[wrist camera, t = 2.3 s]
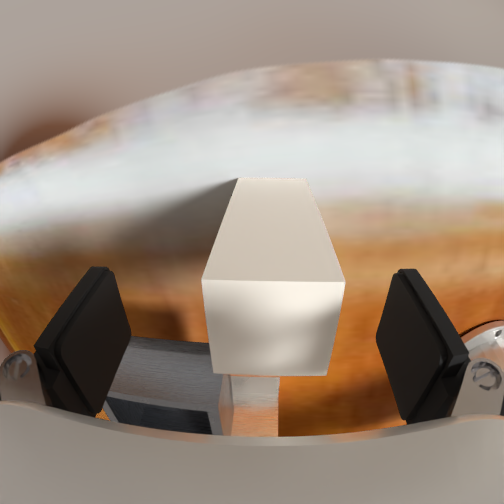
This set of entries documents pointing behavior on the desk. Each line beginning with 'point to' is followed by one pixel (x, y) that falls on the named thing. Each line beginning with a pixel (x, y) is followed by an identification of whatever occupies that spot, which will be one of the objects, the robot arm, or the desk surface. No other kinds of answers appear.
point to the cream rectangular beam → (272, 283)
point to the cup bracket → (189, 392)
